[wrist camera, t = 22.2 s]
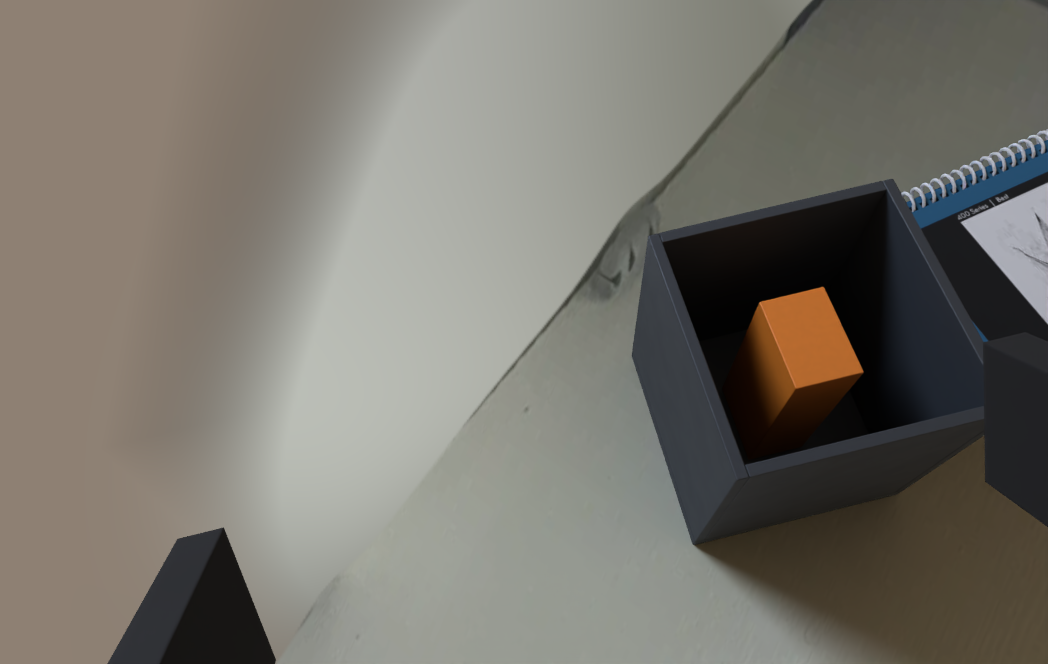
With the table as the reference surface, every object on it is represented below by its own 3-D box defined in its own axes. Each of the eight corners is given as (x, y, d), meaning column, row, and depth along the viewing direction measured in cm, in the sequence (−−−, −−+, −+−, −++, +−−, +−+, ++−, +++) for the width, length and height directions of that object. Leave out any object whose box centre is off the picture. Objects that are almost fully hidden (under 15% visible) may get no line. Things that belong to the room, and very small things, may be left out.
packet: (748, 460, 48) (796, 389, 38) (721, 388, 51) (759, 301, 40) (802, 446, 48) (864, 372, 38) (772, 375, 51) (824, 286, 40)
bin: (692, 545, 47) (736, 480, 34) (631, 355, 53) (647, 235, 40) (898, 493, 48) (1022, 409, 34) (815, 310, 54) (893, 177, 40)
